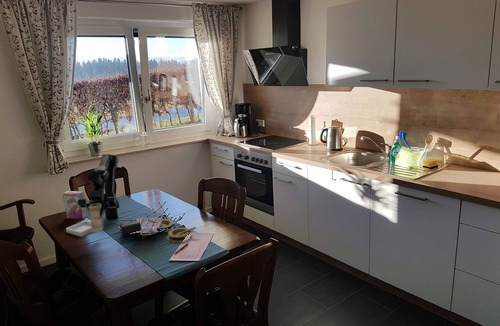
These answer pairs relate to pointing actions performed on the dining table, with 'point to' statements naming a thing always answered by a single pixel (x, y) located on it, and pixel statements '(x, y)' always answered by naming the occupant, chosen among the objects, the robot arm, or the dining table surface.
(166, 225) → the tableware set
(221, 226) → the dining table surface
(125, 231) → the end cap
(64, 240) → the dining table surface
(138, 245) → the dining table surface
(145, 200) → the dining table surface
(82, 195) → the candy bar box
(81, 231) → the tray
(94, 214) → the maple block
